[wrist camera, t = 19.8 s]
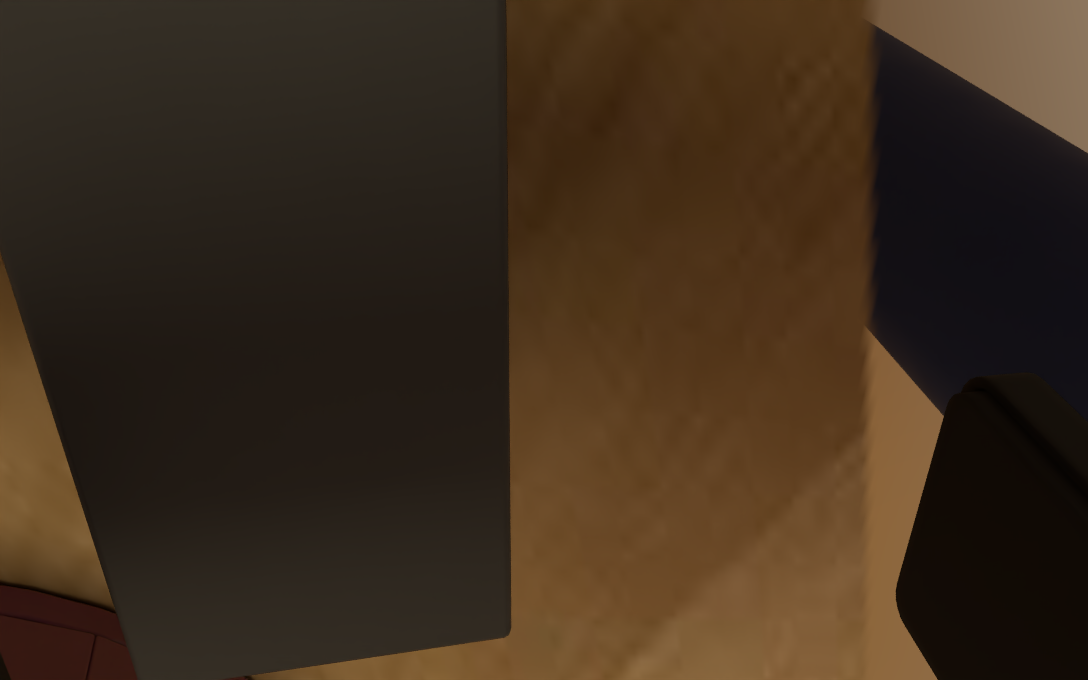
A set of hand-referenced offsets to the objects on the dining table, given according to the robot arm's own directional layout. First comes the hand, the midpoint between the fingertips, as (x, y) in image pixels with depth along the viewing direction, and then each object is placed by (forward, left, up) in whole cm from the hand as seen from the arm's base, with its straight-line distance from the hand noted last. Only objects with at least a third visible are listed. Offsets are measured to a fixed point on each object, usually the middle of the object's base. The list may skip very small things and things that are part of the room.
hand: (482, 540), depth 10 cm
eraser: (+2, -2, -6) cm, 6 cm away
